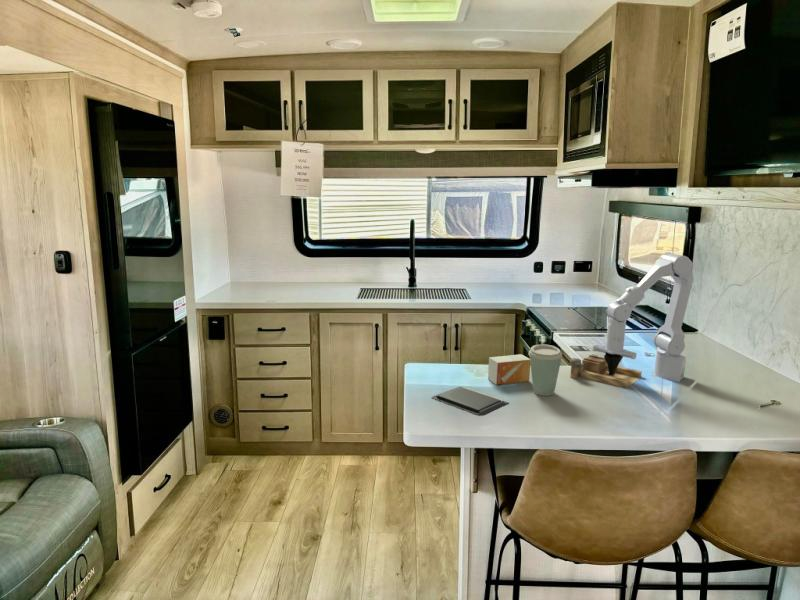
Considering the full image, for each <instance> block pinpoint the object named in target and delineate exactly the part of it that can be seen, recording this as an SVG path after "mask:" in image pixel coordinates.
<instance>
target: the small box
mask: <svg viewBox="0 0 800 600" xmlns="http://www.w3.org/2000/svg"><path fill="white" fill-rule="evenodd" d="M487 373H488V374H487V380H489V381H490V382H491V383H493V384H494V385H496V386H497V385H498V386H499V384H500V385H507V384H510V385H511V384H517V383H518V382H519V383H526V382H527V381H528V382H530V373H531V364H530V357H527V356H525V355H524V354H520V353H519V354H510V355H509V354H508V355H502V356H492V357H491V356H490V357H488V371H487ZM519 383H518V384H519Z"/></svg>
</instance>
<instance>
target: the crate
mask: <svg viewBox="0 0 800 600" xmlns="http://www.w3.org/2000/svg"><path fill="white" fill-rule="evenodd" d="M593 355H594V354H593ZM593 355H592V354H588V357H584V358H583V359H581V363H583V364H584V368H583V370H585V371H589V372H594V373H598V374H604V373H605V372H606V368H607V362H606V360H605V358H604V357H602V356H593Z"/></svg>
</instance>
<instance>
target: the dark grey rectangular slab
mask: <svg viewBox="0 0 800 600" xmlns="http://www.w3.org/2000/svg"><path fill="white" fill-rule="evenodd" d="M431 399H432V400H434V399H435V401H437V402H440V403H442V402H443V404H445V405H449V406H451V407H455V408H456V409H459V410H461V411H465V412H467V413H470V414H472V415H475V416H478V417H483V416H486V415H488V414H490V413H492V412H494V411H496V410H498V409H501V408H503V407H505V406H508V405H510V402H508V401H505V400H502V399H500V398H497V397H494V396H490V395H488V394H485V393H482V392H478V391H476V390H472V389H469V388H466V387H462V386H458V387H456V388H455V387H454V388H452V389H450V390H447V391H444V392H441V393H439V394H436V395H434V396H432V397H431ZM502 406H503V407H502ZM500 407H501V408H500Z"/></svg>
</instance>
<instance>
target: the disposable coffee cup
mask: <svg viewBox="0 0 800 600" xmlns="http://www.w3.org/2000/svg"><path fill="white" fill-rule="evenodd" d="M528 356H529V359H530V373H531V380H532V381H531V382H532V388H533V391H534V393H535V394H536V393H537V394H536V395H538V394H539V395H538V396H545V395H546V396H547V397H549V396H552V395H553V394H554V392H555V391H556V386H557V381H558V376H559V371H560V367H561V362H562V358H563V353H562V351H561V350H560V348H559V347H557V346H555V345H550V344H543V343H541V344H535V345H532V346H531V347H530V350H528Z"/></svg>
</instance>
